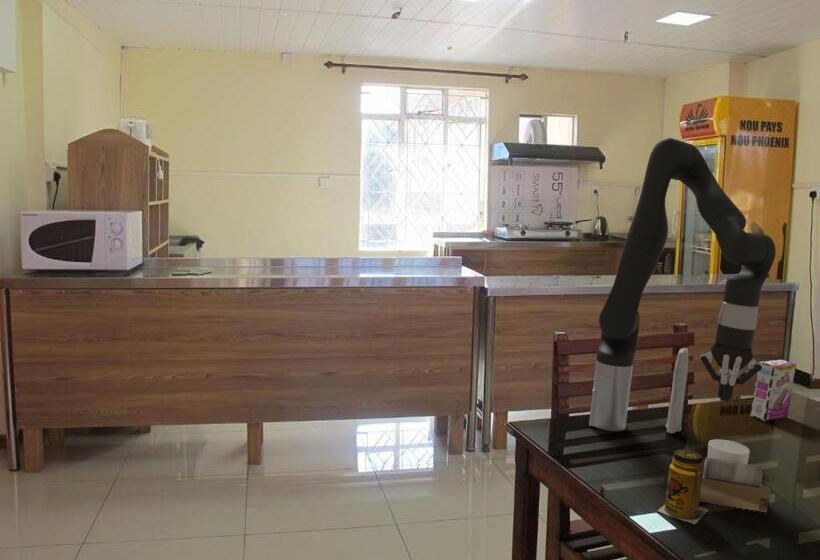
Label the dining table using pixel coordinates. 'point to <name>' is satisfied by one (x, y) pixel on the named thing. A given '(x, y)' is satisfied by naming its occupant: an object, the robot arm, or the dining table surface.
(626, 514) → the dining table surface
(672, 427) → the tall pale column
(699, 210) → the robot arm
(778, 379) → the candy bar box
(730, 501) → the bay
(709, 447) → the white cup
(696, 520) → the condiment
